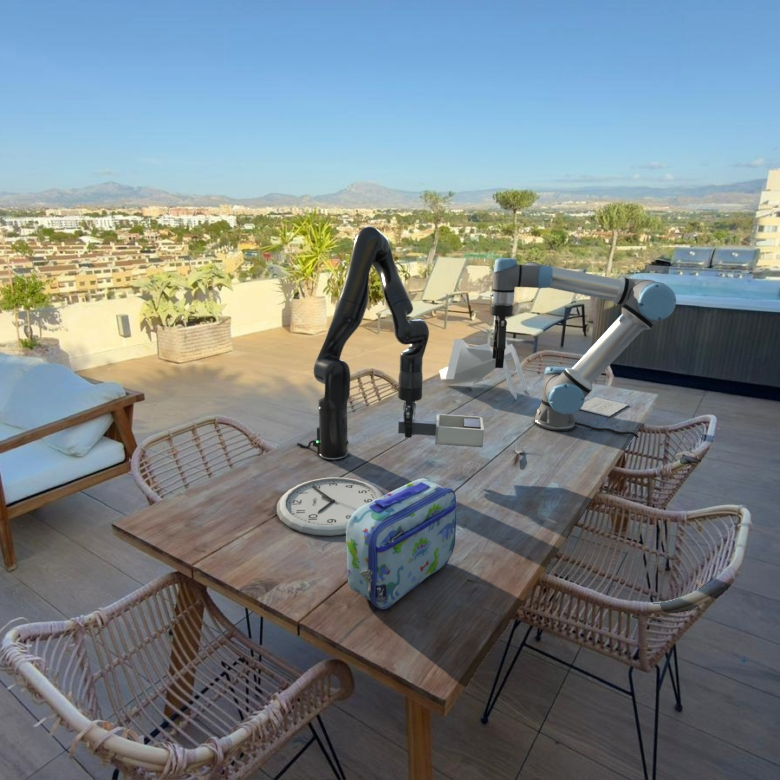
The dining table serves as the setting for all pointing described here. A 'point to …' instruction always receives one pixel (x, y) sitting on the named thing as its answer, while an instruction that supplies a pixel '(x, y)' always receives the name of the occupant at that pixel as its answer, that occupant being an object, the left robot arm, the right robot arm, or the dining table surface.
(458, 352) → the white plastic object
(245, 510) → the dining table surface
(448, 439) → the bin
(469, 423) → the walnut block
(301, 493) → the wall clock
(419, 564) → the lunch box
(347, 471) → the dining table surface
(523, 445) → the fork
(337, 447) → the left robot arm
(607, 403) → the invitation card
